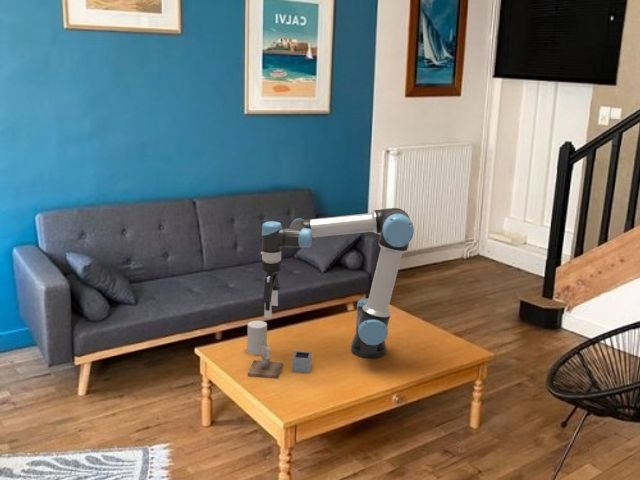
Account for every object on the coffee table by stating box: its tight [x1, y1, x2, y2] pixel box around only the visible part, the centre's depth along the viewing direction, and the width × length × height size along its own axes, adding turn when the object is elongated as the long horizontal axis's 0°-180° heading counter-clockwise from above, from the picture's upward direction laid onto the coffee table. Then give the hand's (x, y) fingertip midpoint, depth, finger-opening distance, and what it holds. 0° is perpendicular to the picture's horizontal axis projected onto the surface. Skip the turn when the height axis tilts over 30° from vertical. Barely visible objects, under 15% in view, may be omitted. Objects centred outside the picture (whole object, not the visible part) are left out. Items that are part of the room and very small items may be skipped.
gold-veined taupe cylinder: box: [246, 320, 268, 356], centre depth 287 cm, size 8×8×12 cm
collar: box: [291, 350, 313, 374], centre depth 272 cm, size 7×7×6 cm
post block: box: [247, 344, 284, 379], centre depth 269 cm, size 12×12×10 cm
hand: (271, 311), depth 273 cm, fingers open, 13 cm apart
